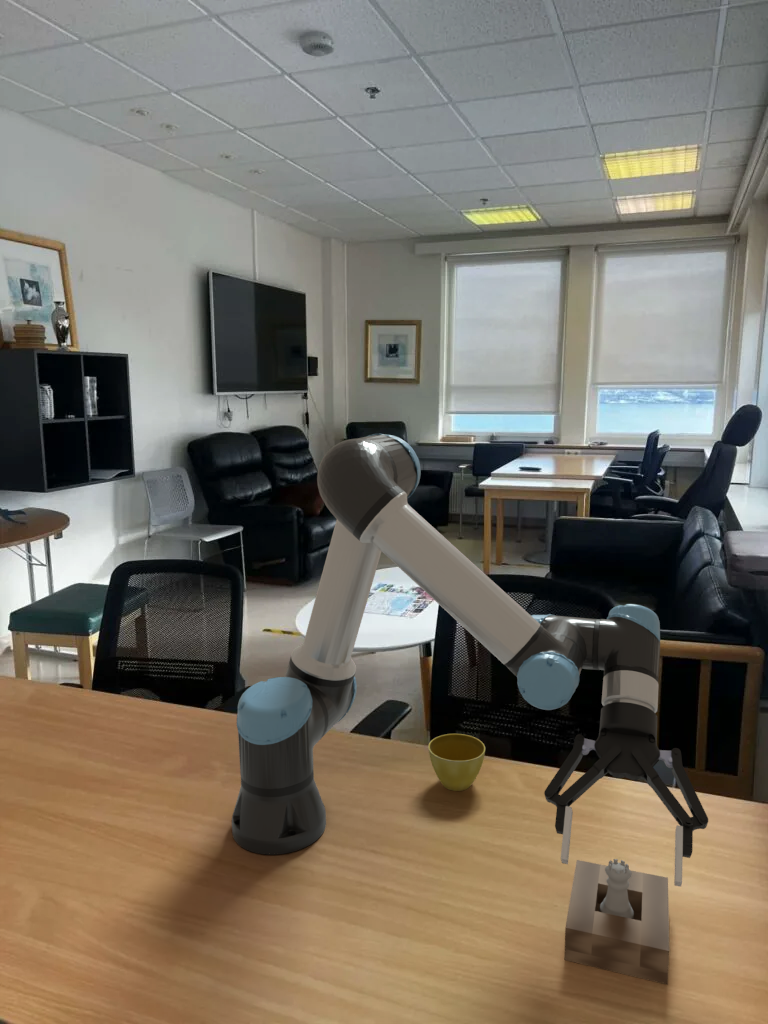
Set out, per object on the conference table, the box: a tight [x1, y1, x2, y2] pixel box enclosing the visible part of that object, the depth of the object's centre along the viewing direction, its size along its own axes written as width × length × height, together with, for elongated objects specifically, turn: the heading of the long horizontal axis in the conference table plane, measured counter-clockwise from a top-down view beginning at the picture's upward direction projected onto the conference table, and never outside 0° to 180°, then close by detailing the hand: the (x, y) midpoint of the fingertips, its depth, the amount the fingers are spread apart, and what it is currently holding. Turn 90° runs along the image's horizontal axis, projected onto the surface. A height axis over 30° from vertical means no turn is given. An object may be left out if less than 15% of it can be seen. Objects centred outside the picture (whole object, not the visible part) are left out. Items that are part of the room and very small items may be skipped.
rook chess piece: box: [599, 858, 634, 919], centre depth 96 cm, size 4×4×8 cm
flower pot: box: [427, 733, 486, 792], centre depth 133 cm, size 10×10×7 cm
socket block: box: [563, 859, 670, 985], centre depth 97 cm, size 12×14×4 cm
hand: (619, 872), depth 93 cm, fingers open, 13 cm apart
